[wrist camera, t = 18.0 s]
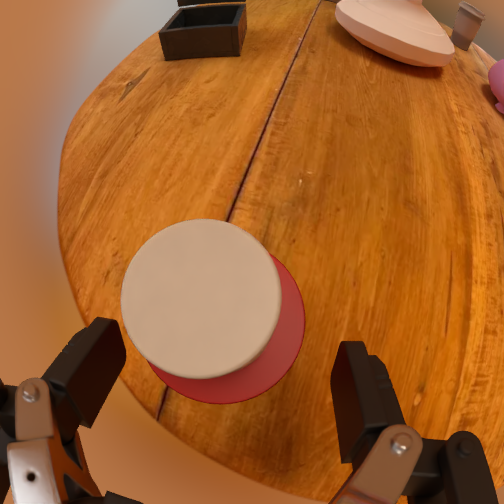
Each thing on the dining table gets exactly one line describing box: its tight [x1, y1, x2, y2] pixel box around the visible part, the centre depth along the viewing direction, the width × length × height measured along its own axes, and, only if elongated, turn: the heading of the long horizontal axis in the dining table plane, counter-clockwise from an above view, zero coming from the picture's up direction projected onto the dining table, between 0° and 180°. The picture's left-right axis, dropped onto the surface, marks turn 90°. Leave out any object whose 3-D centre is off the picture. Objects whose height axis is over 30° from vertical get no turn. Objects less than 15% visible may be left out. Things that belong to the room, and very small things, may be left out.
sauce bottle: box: [121, 219, 305, 404], centre depth 11 cm, size 5×5×13 cm
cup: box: [450, 1, 485, 51], centre depth 33 cm, size 7×7×12 cm
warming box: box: [158, 4, 247, 61], centre depth 31 cm, size 10×10×5 cm
